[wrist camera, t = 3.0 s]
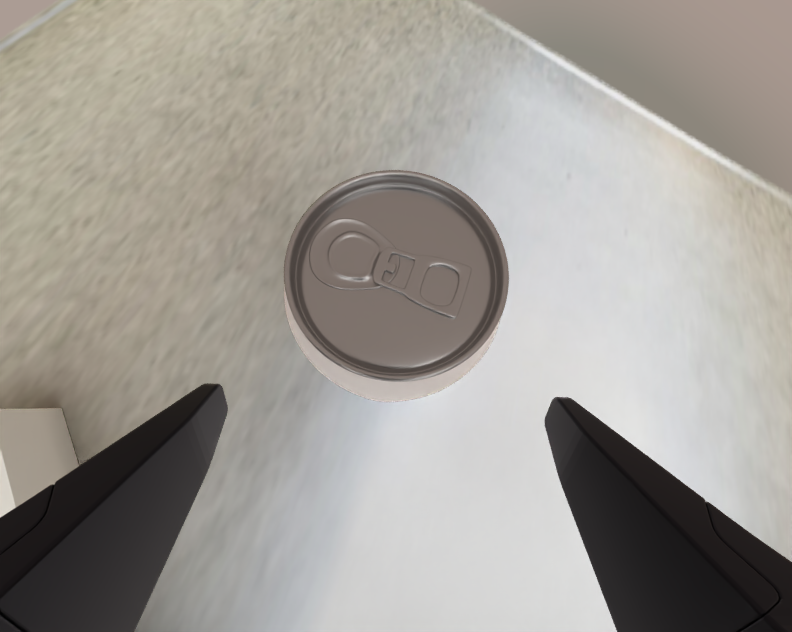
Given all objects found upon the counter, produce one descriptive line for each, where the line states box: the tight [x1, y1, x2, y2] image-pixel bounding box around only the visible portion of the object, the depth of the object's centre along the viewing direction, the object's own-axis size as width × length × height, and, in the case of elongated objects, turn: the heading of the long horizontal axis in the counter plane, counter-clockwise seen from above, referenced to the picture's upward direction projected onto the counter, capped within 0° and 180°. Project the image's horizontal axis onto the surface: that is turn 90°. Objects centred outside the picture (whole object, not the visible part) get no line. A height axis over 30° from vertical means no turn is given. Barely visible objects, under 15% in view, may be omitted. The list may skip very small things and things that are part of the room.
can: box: [284, 170, 509, 402], centre depth 14 cm, size 6×6×12 cm
